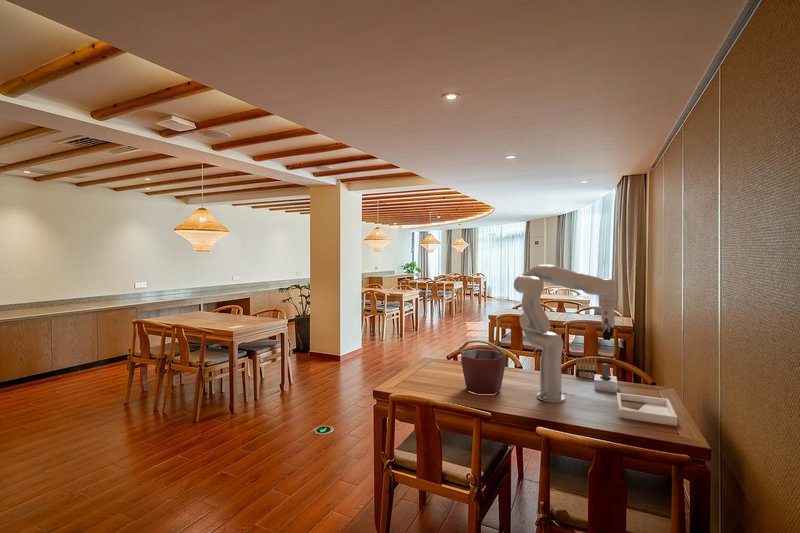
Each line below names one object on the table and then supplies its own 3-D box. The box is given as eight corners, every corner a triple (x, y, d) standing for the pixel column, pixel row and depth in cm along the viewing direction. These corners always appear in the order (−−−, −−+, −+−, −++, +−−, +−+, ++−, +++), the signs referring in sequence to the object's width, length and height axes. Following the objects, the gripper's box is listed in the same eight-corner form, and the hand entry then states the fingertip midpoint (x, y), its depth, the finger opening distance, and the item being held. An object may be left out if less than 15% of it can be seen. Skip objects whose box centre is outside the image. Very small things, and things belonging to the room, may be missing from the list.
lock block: (617, 394, 191) (617, 382, 191) (594, 391, 195) (594, 379, 195) (616, 388, 200) (616, 376, 200) (594, 385, 204) (594, 374, 204)
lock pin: (607, 389, 195) (607, 365, 195) (601, 388, 198) (600, 364, 197) (610, 387, 197) (609, 364, 197) (603, 386, 200) (603, 363, 199)
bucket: (450, 389, 203) (449, 341, 202) (477, 380, 217) (476, 335, 217) (489, 401, 184) (489, 348, 184) (516, 390, 199) (515, 341, 198)
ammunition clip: (575, 378, 217) (575, 356, 217) (575, 377, 219) (575, 355, 219) (597, 380, 213) (597, 358, 213) (597, 379, 215) (597, 357, 214)
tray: (677, 426, 155) (677, 417, 155) (619, 417, 164) (619, 409, 164) (668, 406, 174) (668, 398, 174) (616, 400, 183) (616, 392, 183)
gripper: (613, 306, 186) (614, 342, 187) (617, 301, 200) (618, 335, 201) (596, 305, 190) (597, 340, 191) (601, 301, 205) (602, 334, 205)
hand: (608, 337), depth 196 cm, fingers open, 9 cm apart
